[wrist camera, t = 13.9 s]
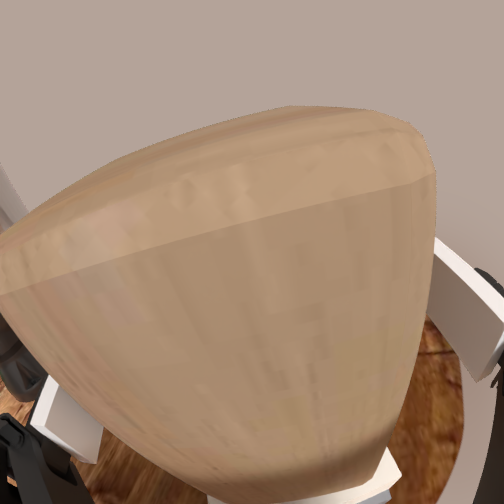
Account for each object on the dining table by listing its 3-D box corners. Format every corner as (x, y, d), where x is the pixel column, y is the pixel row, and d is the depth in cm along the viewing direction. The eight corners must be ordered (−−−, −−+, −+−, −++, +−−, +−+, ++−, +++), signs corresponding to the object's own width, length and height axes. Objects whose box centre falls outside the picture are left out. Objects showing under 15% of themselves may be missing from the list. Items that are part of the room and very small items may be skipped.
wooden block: (225, 400, 22) (106, 162, 13) (343, 375, 21) (306, 101, 12) (226, 509, 13) (-42, 268, 4) (376, 482, 13) (455, 111, 3)
